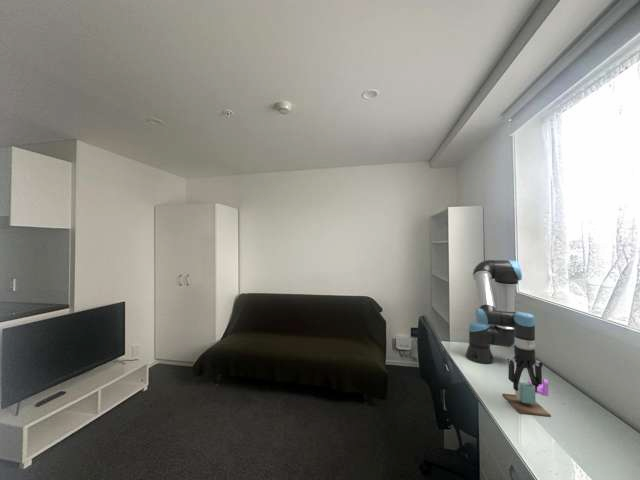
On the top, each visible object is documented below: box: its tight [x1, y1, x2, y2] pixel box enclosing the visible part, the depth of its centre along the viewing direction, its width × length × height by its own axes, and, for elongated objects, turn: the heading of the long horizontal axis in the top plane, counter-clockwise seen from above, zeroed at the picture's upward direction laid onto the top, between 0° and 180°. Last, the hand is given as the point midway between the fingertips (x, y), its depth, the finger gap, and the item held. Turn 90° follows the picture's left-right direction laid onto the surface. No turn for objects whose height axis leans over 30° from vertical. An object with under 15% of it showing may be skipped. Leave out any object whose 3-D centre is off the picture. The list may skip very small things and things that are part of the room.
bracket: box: [528, 378, 549, 396], centre depth 133 cm, size 13×6×7 cm, turn 151°
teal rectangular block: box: [519, 381, 537, 404], centre depth 118 cm, size 5×5×7 cm
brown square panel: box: [502, 393, 552, 418], centre depth 118 cm, size 14×12×8 cm
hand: (525, 397), depth 118 cm, fingers closed on teal rectangular block, 5 cm apart
